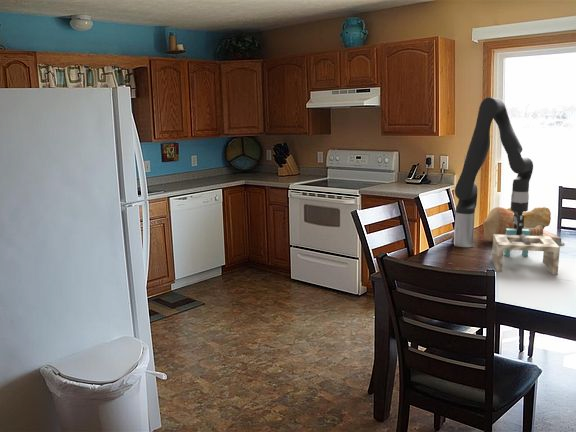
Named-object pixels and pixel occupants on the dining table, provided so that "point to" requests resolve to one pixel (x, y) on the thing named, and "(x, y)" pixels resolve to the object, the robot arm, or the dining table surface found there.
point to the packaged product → (553, 237)
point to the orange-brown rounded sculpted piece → (504, 224)
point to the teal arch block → (514, 232)
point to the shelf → (528, 244)
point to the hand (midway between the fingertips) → (517, 234)
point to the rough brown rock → (536, 217)
